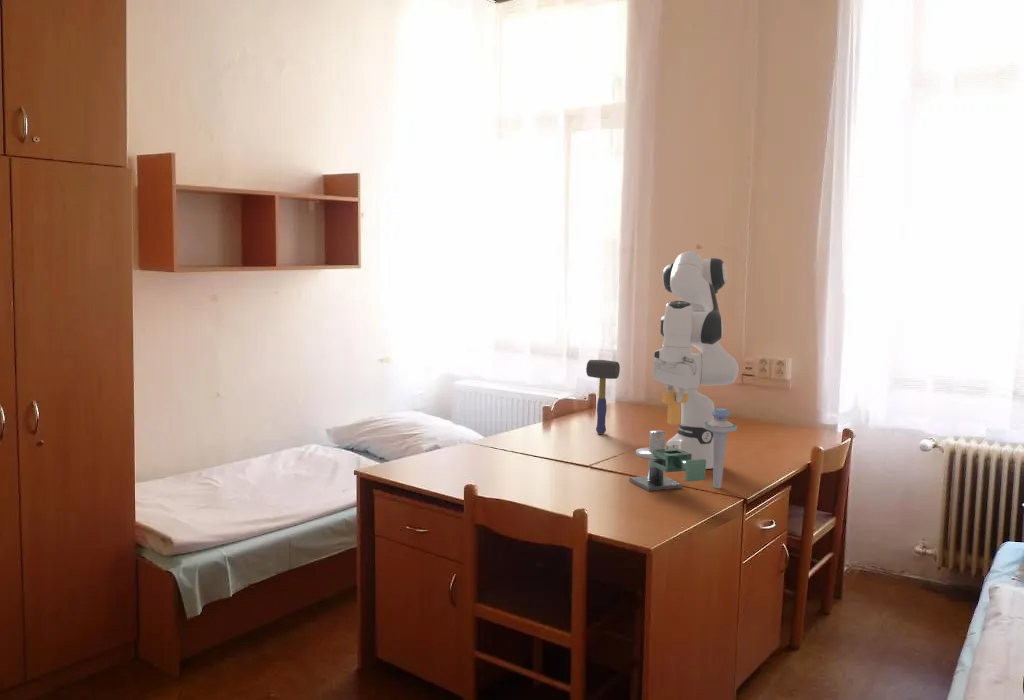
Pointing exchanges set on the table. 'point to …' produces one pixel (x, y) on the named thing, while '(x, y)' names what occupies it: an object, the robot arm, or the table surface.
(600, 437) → the table surface
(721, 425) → the novelty light stick
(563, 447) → the table surface
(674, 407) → the yellow t-shaped block
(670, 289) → the robot arm
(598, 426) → the rubber mallet
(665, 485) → the bracket post
